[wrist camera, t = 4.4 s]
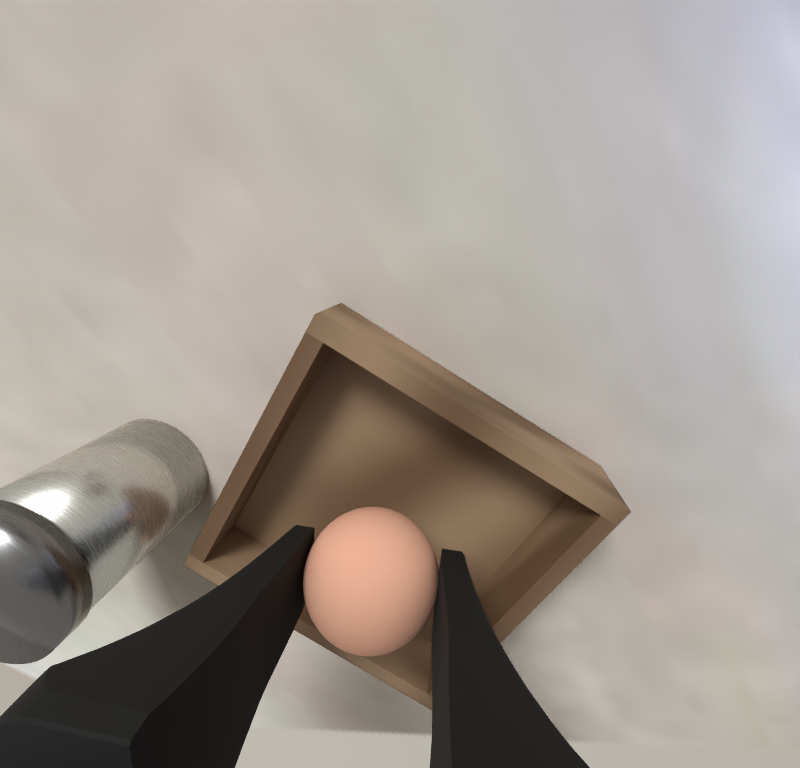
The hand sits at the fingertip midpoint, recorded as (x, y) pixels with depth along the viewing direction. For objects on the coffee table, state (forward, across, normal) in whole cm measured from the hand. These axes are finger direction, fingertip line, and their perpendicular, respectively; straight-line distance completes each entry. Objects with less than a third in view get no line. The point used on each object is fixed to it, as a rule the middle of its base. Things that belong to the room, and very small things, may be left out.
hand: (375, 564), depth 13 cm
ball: (-1, 0, 0) cm, 1 cm away
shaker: (+4, +10, 0) cm, 11 cm away
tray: (+4, 0, 0) cm, 4 cm away
